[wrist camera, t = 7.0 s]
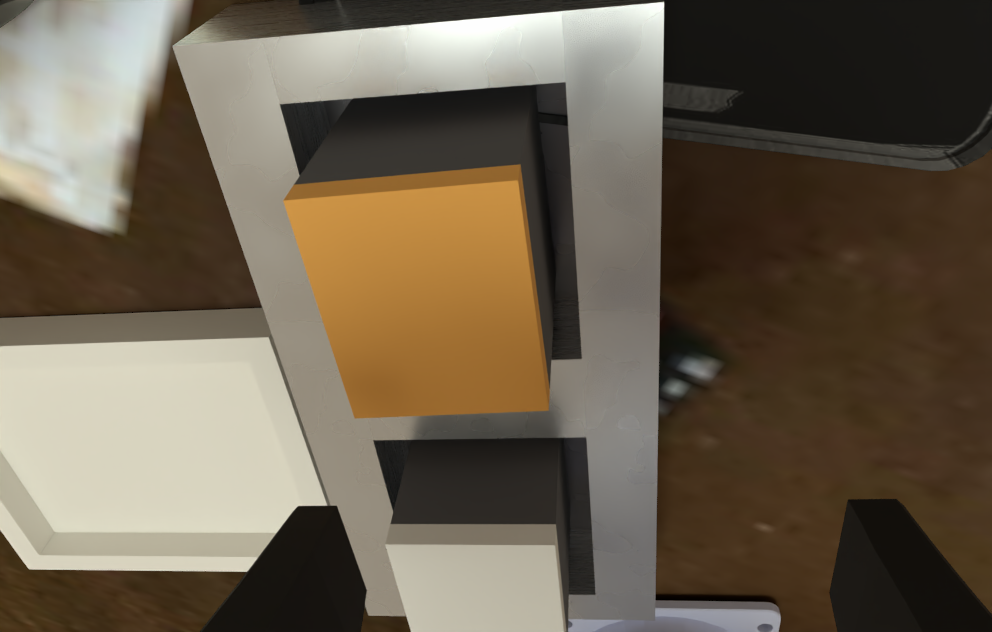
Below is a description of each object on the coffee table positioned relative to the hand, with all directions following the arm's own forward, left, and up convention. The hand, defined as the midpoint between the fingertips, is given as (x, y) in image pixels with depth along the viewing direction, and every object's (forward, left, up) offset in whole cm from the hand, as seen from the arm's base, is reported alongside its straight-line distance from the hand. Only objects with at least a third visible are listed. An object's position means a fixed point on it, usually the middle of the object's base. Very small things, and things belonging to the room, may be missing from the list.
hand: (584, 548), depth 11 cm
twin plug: (-8, +3, -9) cm, 12 cm away
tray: (-7, +14, -10) cm, 19 cm away
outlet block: (-3, +3, -10) cm, 11 cm away
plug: (+1, +3, -9) cm, 10 cm away
